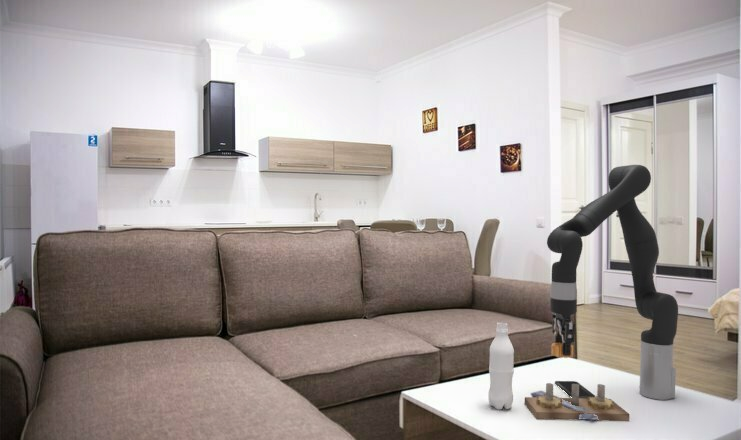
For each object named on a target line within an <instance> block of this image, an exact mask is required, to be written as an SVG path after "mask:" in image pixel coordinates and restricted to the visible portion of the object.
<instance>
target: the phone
mask: <svg viewBox="0 0 741 440" xmlns="http://www.w3.org/2000/svg"><path fill="white" fill-rule="evenodd" d="M555 384H556V385H557V386H556V385H555ZM572 384H578V385H579V398H588V397H591V398H592V397H594V396H596V395H595V394H593V393H592V392H591V391H590V390H588V389H587V388H586V387H585V386H583V385H582V384H581V383H579V382H578V381H576V380H574V381H573V380H555V381H554V385H555V386H556V387H558V386H559V387H560V388H561V389H562V390H564V391H565V392H566V393H567V394H568V395H569V396H571V397H572ZM559 387H558V388H559ZM560 388H559V389H560ZM561 389H560V390H561ZM562 390H561V391H562ZM565 392H564V393H565ZM566 393H565V394H566ZM567 394H566V395H567ZM568 395H567V396H568ZM569 396H568V397H569Z"/></svg>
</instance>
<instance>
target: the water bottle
mask: <svg viewBox="0 0 741 440" xmlns="http://www.w3.org/2000/svg"><path fill="white" fill-rule="evenodd" d="M495 331H496V335H495V336H494V339H493V340H492V342H491V344H490V346H489V367H488V372H489V381H490V383H489V388H488V389H489V390H488V401H489V405H490V406H491V407H492V408H493V407H494V408H495V409H497V410H502V409H503V407H504V409H505V410H509V409H511V407H512V405H513V402H514V394H513V377H514V373H515V369H514V358H515V357H514V355H515V350H514V349H515V348H514V347H513V344H512V341H511V340H510V337H509V334H508V332H509V330H508V323H507V322H501V321H500V322H498V321H497V322H496V330H495Z"/></svg>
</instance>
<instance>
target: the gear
mask: <svg viewBox="0 0 741 440" xmlns="http://www.w3.org/2000/svg"><path fill="white" fill-rule="evenodd" d="M551 356H555V357H557V358H564V359H567V358H573V357H574V344H571V355H570V356H564V355H563V354H562V343H555V342H553V343H551Z"/></svg>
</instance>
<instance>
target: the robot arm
mask: <svg viewBox="0 0 741 440" xmlns="http://www.w3.org/2000/svg"><path fill="white" fill-rule="evenodd" d="M607 181H608V182H607V183H608V187H609V191H608V192H606V193H604V194H603V195H602V196H599V197H598V198H596V199H594V200H593V201H591V202H589V203H588V204H586V205H585V206H584V207H582V209H580V210H579V211H578V212H577V213H576V214H575V215H574V216H573V217H572V218H570V219H568V220H567V221H565V222H563V223H562V224H560V225H558V227H556V228H555V229H553V230H552V231H551V232H550V233H549V235H548V236H547V240H546V245H547V248H548V250H550V251H551V252H552V253H556V254H561V255H560V258H559V260H558V261H555V262H553V263H552V266H551V277H550V278H551V283H550V290H549V291H550V293H549V295H550V297H549V299H550V300H549V305H550V306H549V311H550V312H551V323H552V324H551V327H552V331H551V332H552V334H553V336H554V341H555V342H554V343H562V354H563V355H564V356H570V355H571V345H572V344H573V343H574V342H575V332H576V322H574V321H572V317H571V316H572V315H575V314H577V312H578V310H577V309H578V305H577V304H578V288H577V268H578V265H579V263H580V258H581V255H582V252H583V239H582V238H583V237H587V236H590V235H591V234H592V233H593V232H594V231H595V230H596V229H598V228H599V227H600V225H602V223H604V221H606V220H607V219H608V218H610V216H612V215H613V214H614V213H615V212H616V211H617V215H618V219H619V223H620V226H621V230H622V235H623V241H624V246H625V250H626V254H627V257H628V258H627V259H628V261H629V262H628V263H629V268H630V271H631V277H632V282H633V293H634V300H635V301H634V302H635V306H636V310H637V312H638V314H639V315H640V316H641V317H642V318H643V319H644V318H645V319H647V320H650V321H651V322H652V323H651V327H650V328H649V329H647V330H643V331H641V333H640V356H639V357H640V362H639V363H640V364H639V365H640V366H639V367H640V368H639V394H640V395H642V396H643V397H646V398H649V399H653V400H659V401H660V400H661V401H662V400H663V401H666V400H671V399H675V398H676V377H677V376H676V372H677V371H676V370H677V369H676V368H675V367H674V340H675V337H676V335H677V330H678V329H677V328H678V321H679V320H678V318H679V306H678V302H677V299H676V298H675V297H674V296H673V295H671V294H669V293H664V292H660V291H657V289H656V286H655V281H654V270H655V268H656V265H657V262H658V258H659V255H660V248H659V244H658V239H657V235H656V231H655V229H654V228H653V226H652V224H650V222H649V221H648V220H647V218H646V217H645V216H644V215H643V214H642V212H641V210H640V209H639V208H638V205H637V203H636V199H635V198H636V197H638V196H639V195H641V194H643V193H644V192H645V191H646V190H647V189H648V188H649V187H650V185H651V181H652V175H651V172H650V170H649V169H648V168H647V167H646V166H644V165H642V164H630V165H621V166H616V167H613V168H612V169H611V170H610V172H609V174H608V179H607Z"/></svg>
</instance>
